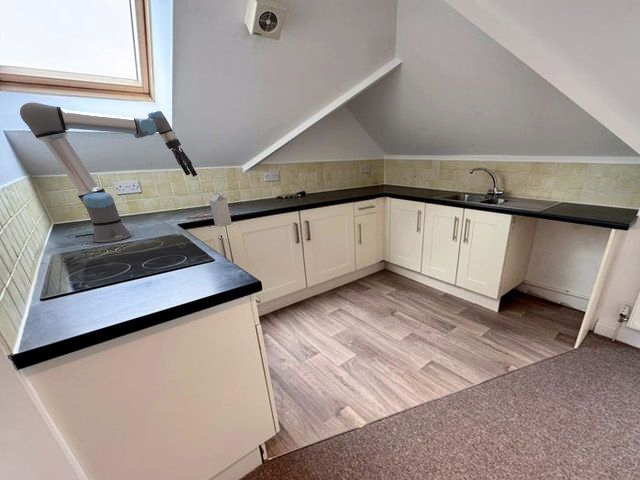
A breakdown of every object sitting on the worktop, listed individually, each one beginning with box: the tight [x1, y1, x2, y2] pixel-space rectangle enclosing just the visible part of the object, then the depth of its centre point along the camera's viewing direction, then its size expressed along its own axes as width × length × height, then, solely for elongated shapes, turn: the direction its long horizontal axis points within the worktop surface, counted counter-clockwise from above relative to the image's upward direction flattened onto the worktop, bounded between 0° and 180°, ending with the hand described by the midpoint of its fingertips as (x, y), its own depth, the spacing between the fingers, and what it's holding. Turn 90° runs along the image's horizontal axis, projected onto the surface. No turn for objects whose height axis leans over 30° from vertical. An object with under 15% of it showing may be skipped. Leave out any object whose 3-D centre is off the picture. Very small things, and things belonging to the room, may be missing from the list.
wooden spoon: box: [186, 213, 213, 220], centre depth 203 cm, size 15×5×1 cm, turn 119°
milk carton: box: [208, 192, 233, 227], centre depth 179 cm, size 7×7×19 cm
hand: (192, 175), depth 188 cm, fingers open, 13 cm apart
